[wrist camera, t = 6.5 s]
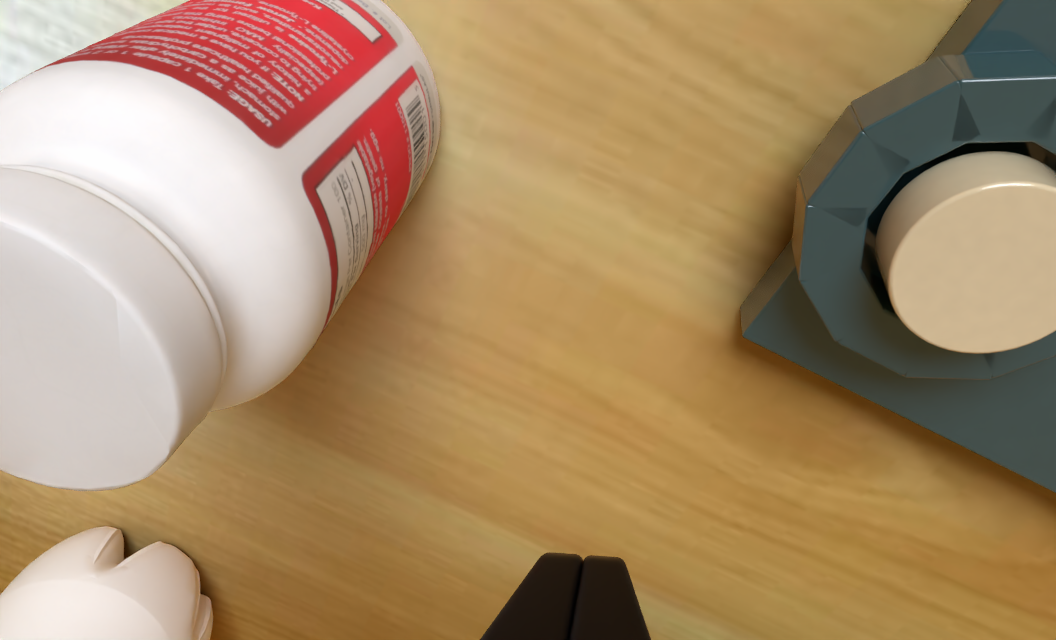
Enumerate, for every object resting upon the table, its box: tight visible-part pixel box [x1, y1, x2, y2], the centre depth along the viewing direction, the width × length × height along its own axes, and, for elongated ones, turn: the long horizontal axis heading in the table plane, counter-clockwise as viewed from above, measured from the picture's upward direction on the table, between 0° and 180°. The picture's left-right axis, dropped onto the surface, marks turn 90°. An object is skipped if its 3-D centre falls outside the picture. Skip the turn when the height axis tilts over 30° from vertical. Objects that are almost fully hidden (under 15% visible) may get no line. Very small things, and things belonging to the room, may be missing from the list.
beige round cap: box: [875, 151, 1056, 354], centre depth 16 cm, size 4×4×2 cm
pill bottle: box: [0, 0, 440, 491], centre depth 16 cm, size 6×6×11 cm
